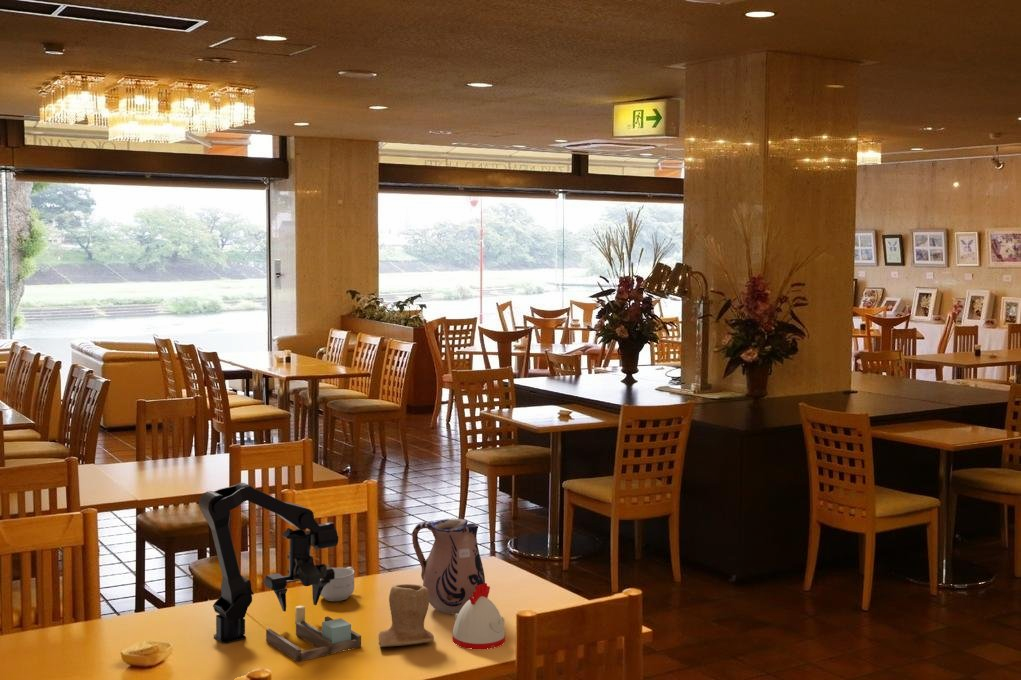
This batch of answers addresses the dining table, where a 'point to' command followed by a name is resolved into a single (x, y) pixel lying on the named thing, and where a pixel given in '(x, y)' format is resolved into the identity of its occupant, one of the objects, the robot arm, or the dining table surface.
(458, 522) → the ceramic pitcher
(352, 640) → the lane rack
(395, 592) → the stone cup
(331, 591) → the teacup
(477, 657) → the dining table surface
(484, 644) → the kitchen timer
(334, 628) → the mallet
